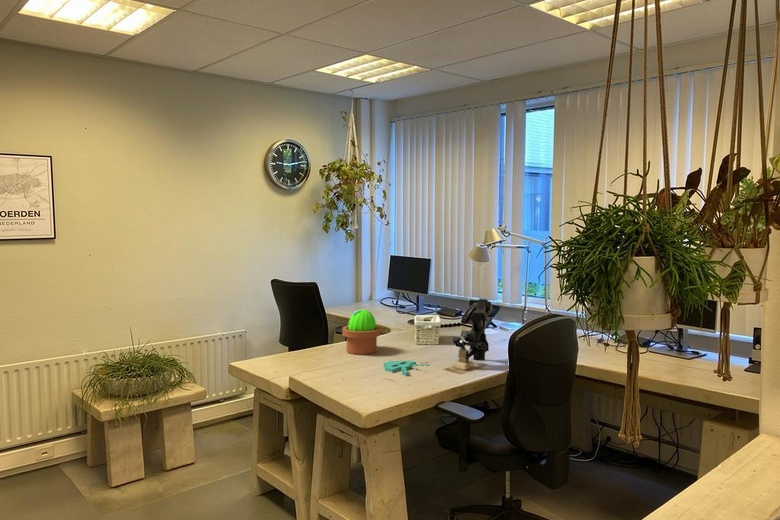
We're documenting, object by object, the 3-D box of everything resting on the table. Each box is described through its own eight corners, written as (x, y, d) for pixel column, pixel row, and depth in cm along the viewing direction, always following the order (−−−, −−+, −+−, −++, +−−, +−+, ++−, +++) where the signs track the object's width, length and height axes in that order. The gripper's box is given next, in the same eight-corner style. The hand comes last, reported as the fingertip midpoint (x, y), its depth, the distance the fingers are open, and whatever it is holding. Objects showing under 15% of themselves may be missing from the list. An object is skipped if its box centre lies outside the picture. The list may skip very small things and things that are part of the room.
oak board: (462, 365, 302) (463, 362, 302) (482, 370, 294) (482, 367, 294) (441, 372, 289) (441, 369, 289) (461, 377, 281) (461, 374, 281)
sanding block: (462, 364, 298) (463, 347, 297) (473, 367, 293) (474, 350, 292) (453, 367, 292) (453, 350, 291) (464, 370, 287) (465, 352, 286)
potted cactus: (381, 347, 342) (381, 305, 340) (379, 356, 320) (379, 312, 318) (344, 346, 342) (344, 305, 340) (340, 355, 320) (340, 311, 318)
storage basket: (414, 336, 372) (414, 314, 371) (439, 337, 371) (439, 314, 370) (413, 345, 348) (414, 321, 347) (440, 345, 347) (441, 321, 346)
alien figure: (429, 368, 297) (399, 362, 310) (429, 364, 297) (399, 358, 310) (406, 377, 282) (375, 369, 294) (406, 372, 282) (375, 365, 294)
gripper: (454, 321, 300) (441, 345, 293) (484, 326, 287) (471, 352, 280) (463, 333, 306) (450, 358, 299) (492, 339, 293) (480, 364, 286)
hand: (462, 358), depth 291 cm, fingers closed on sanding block, 4 cm apart
